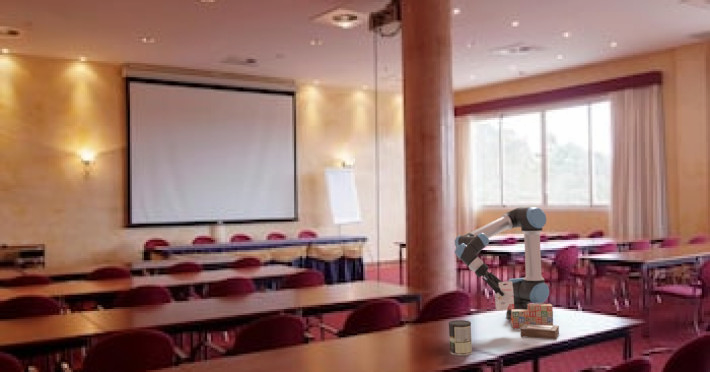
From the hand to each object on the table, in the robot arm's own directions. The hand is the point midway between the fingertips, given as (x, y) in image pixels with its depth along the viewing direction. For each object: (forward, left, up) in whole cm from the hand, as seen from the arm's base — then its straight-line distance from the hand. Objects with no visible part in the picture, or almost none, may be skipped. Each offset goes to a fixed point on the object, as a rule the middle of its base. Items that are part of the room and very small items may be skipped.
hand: (510, 298), depth 332 cm
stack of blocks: (-19, +7, -19) cm, 27 cm away
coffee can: (+48, -14, -18) cm, 53 cm away
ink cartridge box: (0, -3, -6) cm, 7 cm away
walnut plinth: (+1, +14, -18) cm, 23 cm away
